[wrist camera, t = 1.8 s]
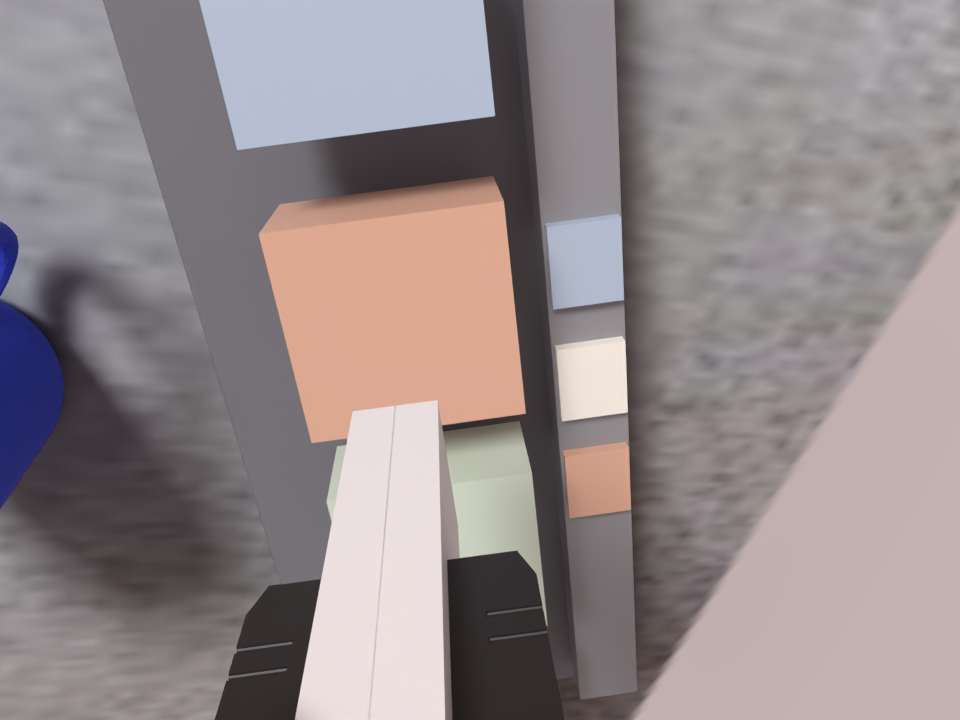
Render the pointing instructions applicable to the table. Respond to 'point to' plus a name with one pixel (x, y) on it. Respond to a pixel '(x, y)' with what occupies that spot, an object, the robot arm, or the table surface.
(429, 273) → the terracotta key
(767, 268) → the table surface
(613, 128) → the keypad
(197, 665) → the table surface
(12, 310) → the mug
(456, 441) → the sage key
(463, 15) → the blue key
